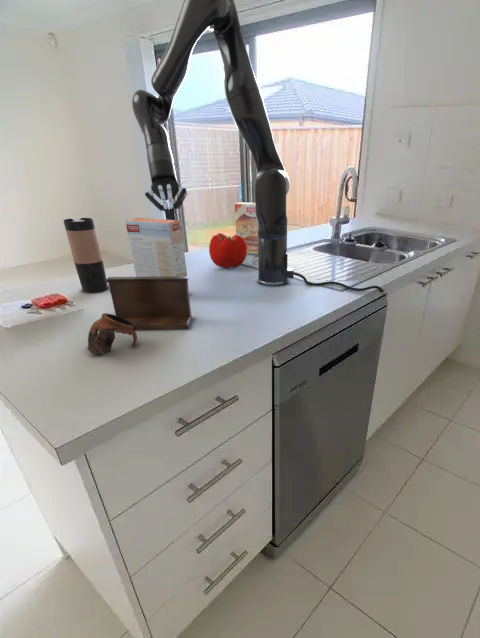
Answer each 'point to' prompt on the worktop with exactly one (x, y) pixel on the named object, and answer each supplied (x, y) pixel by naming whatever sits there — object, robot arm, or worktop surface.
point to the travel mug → (86, 254)
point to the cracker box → (156, 247)
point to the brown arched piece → (108, 332)
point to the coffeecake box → (247, 225)
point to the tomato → (227, 250)
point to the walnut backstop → (152, 301)
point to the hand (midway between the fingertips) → (171, 222)
